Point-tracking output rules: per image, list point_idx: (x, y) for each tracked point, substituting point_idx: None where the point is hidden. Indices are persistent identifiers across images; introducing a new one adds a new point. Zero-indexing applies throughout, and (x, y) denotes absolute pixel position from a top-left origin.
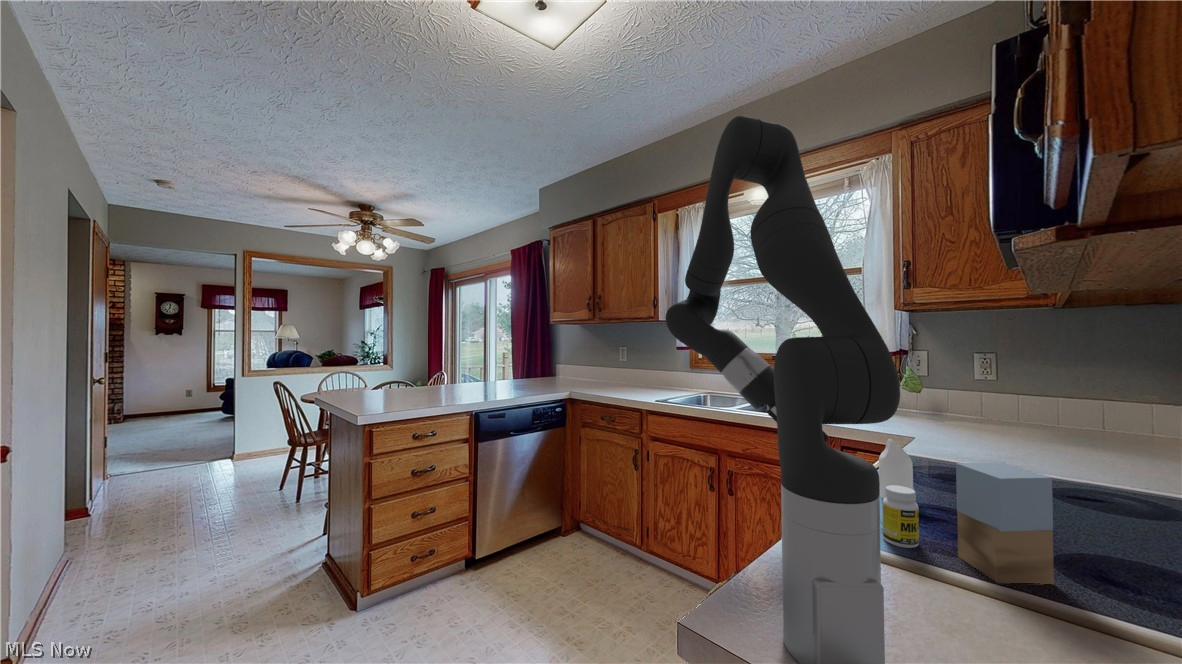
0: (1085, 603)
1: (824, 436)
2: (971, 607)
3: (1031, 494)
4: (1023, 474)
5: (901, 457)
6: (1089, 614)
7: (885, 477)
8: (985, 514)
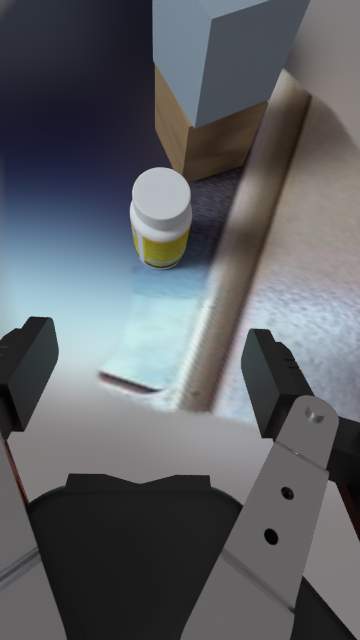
0: None
1: (45, 333)
2: (320, 208)
3: None
4: None
5: None
6: (273, 109)
7: None
8: (252, 92)
